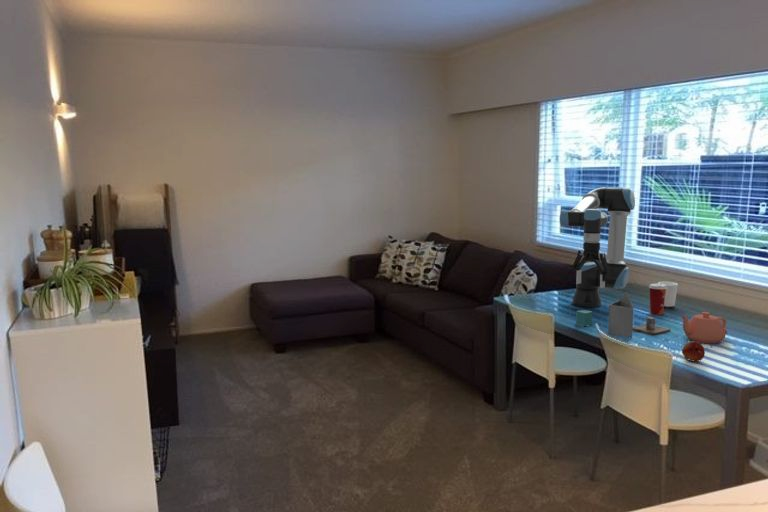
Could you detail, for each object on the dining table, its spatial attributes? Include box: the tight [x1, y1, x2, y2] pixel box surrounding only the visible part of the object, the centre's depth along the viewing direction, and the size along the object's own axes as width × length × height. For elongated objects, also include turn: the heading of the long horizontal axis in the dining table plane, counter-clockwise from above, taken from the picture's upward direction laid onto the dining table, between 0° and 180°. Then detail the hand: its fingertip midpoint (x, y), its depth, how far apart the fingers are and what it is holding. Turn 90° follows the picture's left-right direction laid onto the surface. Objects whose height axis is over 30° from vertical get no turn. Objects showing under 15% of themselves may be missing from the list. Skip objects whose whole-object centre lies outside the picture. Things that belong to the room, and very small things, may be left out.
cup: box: [657, 281, 679, 309], centre depth 320 cm, size 10×10×13 cm
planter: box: [608, 291, 634, 339], centre depth 273 cm, size 16×8×19 cm, turn 178°
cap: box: [575, 309, 593, 327], centre depth 288 cm, size 5×5×7 cm
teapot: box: [680, 311, 728, 344], centre depth 260 cm, size 22×16×12 cm
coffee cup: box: [649, 283, 667, 316], centre depth 306 cm, size 8×8×15 cm
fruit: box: [681, 341, 706, 362], centre depth 234 cm, size 8×8×8 cm
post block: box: [633, 316, 671, 336], centre depth 276 cm, size 12×12×6 cm
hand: (590, 285), depth 286 cm, fingers open, 13 cm apart
